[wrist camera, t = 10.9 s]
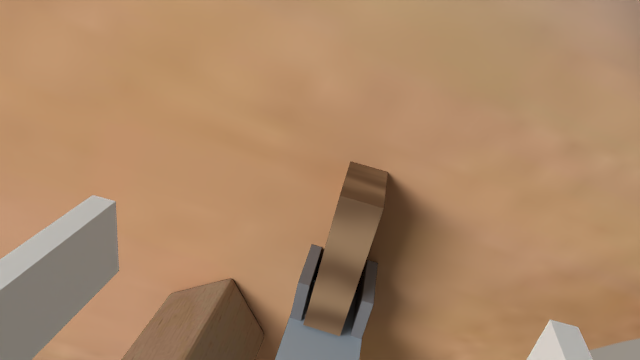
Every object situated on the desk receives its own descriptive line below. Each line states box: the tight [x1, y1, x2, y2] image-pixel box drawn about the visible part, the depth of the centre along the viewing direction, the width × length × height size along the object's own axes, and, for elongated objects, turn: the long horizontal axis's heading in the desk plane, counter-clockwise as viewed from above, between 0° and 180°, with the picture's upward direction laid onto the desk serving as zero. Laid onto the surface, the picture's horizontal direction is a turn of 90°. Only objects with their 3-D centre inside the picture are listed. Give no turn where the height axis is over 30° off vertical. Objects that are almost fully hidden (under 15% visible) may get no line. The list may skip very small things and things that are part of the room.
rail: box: [303, 162, 388, 336], centre depth 45 cm, size 16×4×8 cm, turn 167°
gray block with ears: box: [275, 245, 378, 360], centre depth 45 cm, size 11×8×16 cm
